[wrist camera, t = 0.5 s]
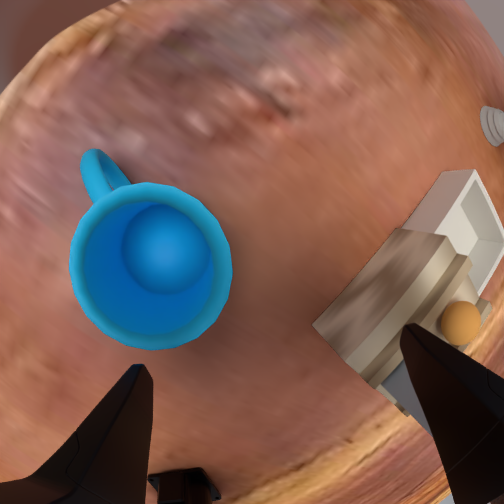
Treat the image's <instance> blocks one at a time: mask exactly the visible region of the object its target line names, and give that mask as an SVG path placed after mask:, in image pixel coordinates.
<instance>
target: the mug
mask: <svg viewBox="0 0 504 504" xmlns="http://www.w3.org/2000/svg"><path fill="white" fill-rule="evenodd" d="M80 170H81V175H82V179H83V182H84V185H85V187H86V189H87V192H88V194H89V196H90V198H91V200H92V202H93V206H92V207H91V208H90V209H89V210H88V211H87V213H86V214H85V215H84V216H83V217H82V218H81V220H80V222H79V225H78V227H77V229H76V232H75V234H74V237H73V239H72V242H71V248H70V260H69V272H70V276H71V281H72V286H73V290H74V294H75V296H76V298H77V300H78V301H79V303H80V305H81V307H82V309H83V311H84V312H85V314H86V316H87V317H88V318H89V319H90V320H91V321H92V322H93V323H94V324H95V325H96V326H97V327H98V328H99V329H100V330H101V331H102V332H103V333H104V334H106V335H108V336H109V337H111V338H113V339H115V340H117V341H119V342H121V343H122V344H124V345H126V346H131V347H135V348H140V349H145V350H161V349H170V348H176V347H178V346H180V345H183V344H185V343H187V342H190V341H192V340H194V339H196V338H198V337H199V336H200V335H201V334H202V333H203V332H204V331H206V330H207V329H208V328H209V327H210V326H211V325H212V324H213V323H214V322H215V321H216V320H217V318H218V316H219V314H220V313H221V311H222V309H223V307H224V305H225V304H226V302H227V300H228V297H229V291H230V286H231V281H232V276H233V269H232V261H231V254H230V246H229V244H228V242H227V239H226V237H225V235H224V233H223V231H222V229H221V227H220V225H219V222H218V220H217V219H216V218H215V217H214V216H213V214H212V213H211V212H210V211H209V210H208V209H207V208H206V207H205V206H204V205H203V204H202V203H201V202H200V201H199V200H198V199H196V198H194V197H192V196H190V195H188V194H187V193H185V192H183V191H181V190H179V189H177V188H175V187H174V186H168V185H162V184H156V183H149V182H144V183H138V184H133V185H132V184H131V183H130V181H129V180H128V179H127V177H126V176H125V175H124V174H123V172H122V171H121V170H120V169H119V167H118V166H117V165H116V164H115V163H114V162H113V161H112V160H111V158H110V157H109V156H108V155H107V154H105V153H104V152H103V151H101V150H100V149H90V150H88V151H86V152H85V153H84V155H83V156H82V159H81V163H80ZM109 184H110V185H111V187H112V188H113V189H114V191H113V190H112V188H111V187H110V185H109Z"/></svg>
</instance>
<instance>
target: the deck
mask: <svg viewBox="0 0 504 504" xmlns="http://www.w3.org/2000/svg"><path fill="white" fill-rule="evenodd" d="M472 266H473V264H472V262H471V260H470V258H469V256H467V255H462V254H458V253H457V252H456V251H455V249H454V247H453V245H452V243H451V242H450V240H449V238H448V237H447V236H446V235H440V234H433V233H427V232H421V231H414V230H407V229H401V228H396V229H395V230H394V231H393V233H392V234H391V235H390V236H389V238H388V239H387V240H386V241H385V242H384V244H383V245H382V246H381V247H380V249H379V250H378V251H377V252H376V253H375V255H374V256H373V257H372V258H371V259H370V261H369V262H368V263H367V264H366V265H365V266H364V268H363V269H362V270H361V271H360V272H359V273H358V274H357V276H356V277H355V278H354V279H353V280H352V281H351V282H350V284H349V285H348V286H347V287H346V288H345V289H344V290H343V291H342V293H341V294H340V295H339V296H338V297H337V298H336V299H335V300H334V301H333V302H332V303H331V305H330V306H329V307H328V308H327V309H326V310H325V311H324V312H323V313H322V314H321V315H320V316H319V317H318V318H317V319H316V321H315V322H314V323H313V324H312V326H313V327H314V328H315V329H316V331H317V332H318V333H319V334H320V335H321V336H322V337H323V338H324V339H325V341H326V342H327V343H328V344H329V345H330V346H331V347H332V348H333V349H334V351H335V352H336V353H337V354H338V355H339V356H340V357H341V358H342V359H343V361H344V362H346V363H347V364H348V365H349V366H350V367H351V368H352V369H354V370H355V371H356V372H357V373H358V374H359V375H360V376H361V377H362V378H363V379H364V380H365V381H366V382H367V383H368V384H369V385H370V386H371V387H372V388H374V389H377V390H378V391H379V392H380V393H381V394H383V395H384V396H385V397H386V398H387V399H388V400H390V401H391V402H392V403H393V404H394V405H395V406H396V407H397V408H398V409H399V410H400V411H401V412H402V413H403V414H404V415H406V416H407V417H408V416H409V415H410V413H409V412H408V411H407V410H406V409H405V408H404V407H403V406H402V405H401V404H400V403H399V402H398V401H397V400H396V399H395V398H394V397H393V396H392V395H391V394H390V393H389V392H388V391H387V390H386V389H385V388H384V387H383V386H382V385H381V383H382V382H383V381H384V380H385V379H386V377H387V376H388V375H389V374H390V373H391V372H392V371H393V370H394V369H395V368H396V367H397V366H398V364H399V363H400V362H401V361H402V360H403V359H404V358H403V355H402V352H401V349H400V345H399V341H400V337H401V333H402V329H403V326H404V325H405V324H409V323H413V322H414V323H417V324H418V325H420V326H421V327H423V328H425V329H426V330H428V331H429V332H431V333H433V334H434V335H436V336H437V337H439V338H441V339H442V340H444V341H445V342H447V343H449V344H450V345H452V346H453V347H455V348H456V349H458V350H460V351H461V352H464V350H465V349H466V348H467V346H468V345H469V344H470V342H469V343H468V344H465V345H454V344H451V343H450V342H448V341H447V340H446V339H445V337H444V336H443V333H442V330H441V320H442V316H443V314H444V312H445V311H446V309H447V308H448V307H449V306H450V305H451V304H453V303H455V302H458V301H468V302H470V303H472V304H474V305H475V306H476V308H477V309H478V311H479V313H480V316H481V326H482V325H483V323H484V322H485V320H486V318H487V317H488V315H489V313H490V312H491V310H492V306H491V304H490V302H489V301H487V300H484V299H482V298H479V295H478V293H477V291H476V289H475V287H474V285H473V283H472V281H471V279H470V277H469V275H468V273H469V271H470V269H471V268H472ZM481 326H480V328H481Z"/></svg>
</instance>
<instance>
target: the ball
mask: <svg viewBox="0 0 504 504" xmlns="http://www.w3.org/2000/svg"><path fill="white" fill-rule="evenodd" d="M480 326H481V316H480V313H479V311H478V309H477V308H476V306H475V305H474V304H472V303H470V302H468V301H458V302H455V303H453V304H451V305H450V306H449V307H448V308H447V309H446V311H445V312H444V314H443V316H442V320H441V330H442V333H443V336H444V337H445V339H446V340H447V341H448V342H450V343H451V344H454V345H465V344H468V343H469V342H471V341H472V340H473V339H474V338H475V337H476V336H477V334H478V332H479V330H480Z"/></svg>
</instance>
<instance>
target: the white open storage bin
mask: <svg viewBox="0 0 504 504" xmlns="http://www.w3.org/2000/svg"><path fill="white" fill-rule="evenodd" d="M401 229H407V230H414V231H421V232H427V233H433V234H440V235H446V236H447V237H448V238H449V240H450V242H451V243H452V245H453V247H454V249H455V251H456V252H457V253H458V254H462V255H467V256H469V258H470V260H471V262H472V264H473V266H472V268H471V269H470V271H469V273H468V275H469V277H470V279H471V281H472V283H473V285H474V287H475V289H476V291H477V293H478V295H479V296H480V294H481V293H482V291H483V289H484V288H485V286H486V284H487V283H488V281H489V279H490V278H491V276H492V274H493V272H494V271H495V269H496V267H497V265H498V264H499V262H500V260H501V258H502V256H503V254H504V229H503V227H502V224H501V222H500V219H499V217H498V215H497V212H496V210H495V208H494V206H493V204H492V201H491V199H490V197H489V195H488V193H487V191H486V189H485V187H484V185H483V183H482V181H481V179H480V177H479V175H478V174H477V172H476V170H475V169H468V170H455V171H444V172H442V173H441V174H440V176H439V177H438V179H437V180H436V181H435V183H434V184H433V186H432V187H431V189H430V190H429V191H428V193H427V194H426V195H425V197H424V198H423V200H422V201H421V202H420V204H419V205H418V206H417V208H416V209H415V210H414V212H413V213H412V214H411V216H410V217H409V218H408V220H407V221H406V222H405V224H404V225H403V226H402V227H401Z"/></svg>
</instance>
